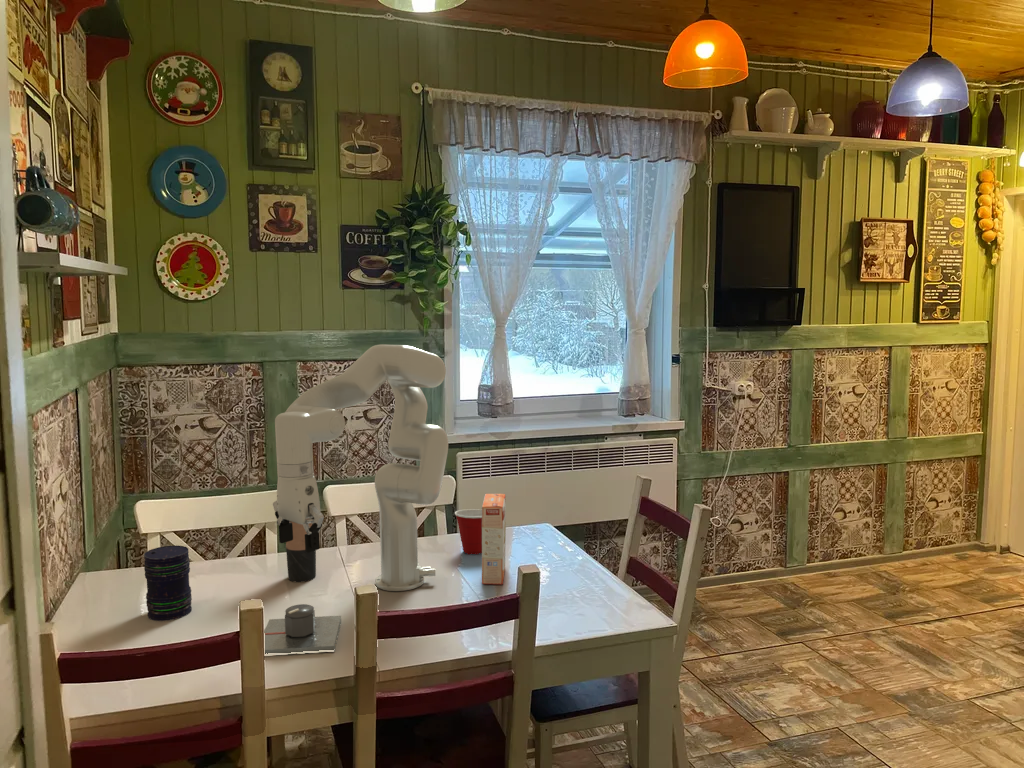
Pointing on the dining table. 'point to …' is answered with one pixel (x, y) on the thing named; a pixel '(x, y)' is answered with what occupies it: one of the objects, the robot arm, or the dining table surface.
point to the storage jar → (167, 583)
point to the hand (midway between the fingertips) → (299, 546)
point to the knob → (299, 620)
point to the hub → (315, 641)
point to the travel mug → (300, 556)
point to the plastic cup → (470, 530)
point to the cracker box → (493, 538)
